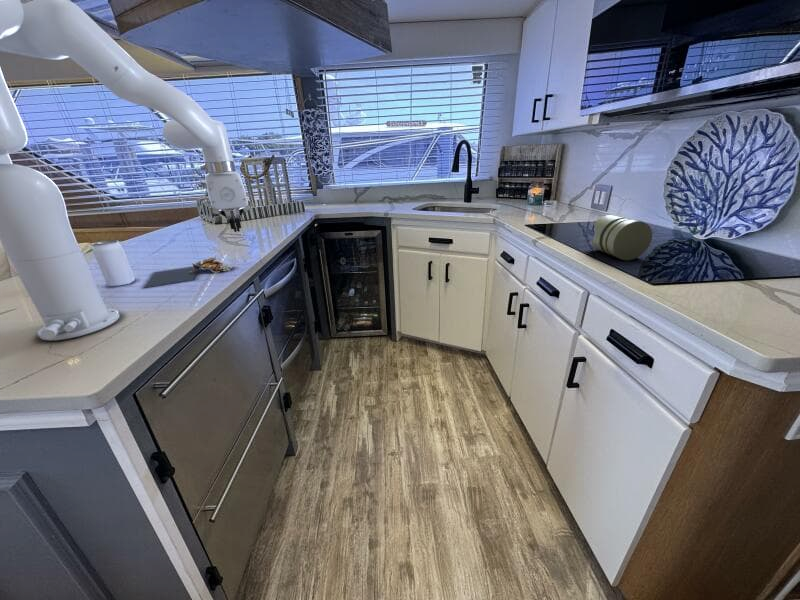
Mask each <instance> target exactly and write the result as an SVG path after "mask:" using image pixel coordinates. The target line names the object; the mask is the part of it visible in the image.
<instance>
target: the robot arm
mask: <svg viewBox="0 0 800 600" xmlns="http://www.w3.org/2000/svg"><path fill="white" fill-rule="evenodd" d="M0 52H4V53H9V54H14V55H15V54H16V55H20V56H25V57H32V58H37V59H45V60H54V61H55V60H64V59H68V58H70V59H71V60H72V61H74V63H76V64H77V65H79V66H80V67H81V68H82V69H83V70H85V72H87V73H88V74H90V75H91V76H92V77H93V78H94V79H95V80H97V82H99V83H100V84H101V85H103V86H104V87H105V88H106V89H107V90H108V91H109V92H111V93H112V94H113V95H115V96H116V97H117V98H119V99H121V100H123V101H126V102H128V103H131V104H134V105H138V106H141V107H145V108H148V109H151V110H154V111H156V112H160V113H161V114H163V115H165V116H167V117H169V118H171V119H168V120H167V121H166V122H165V123H164V124H163V125H162V130H161V132H162V136H163V138H164V140H165V141H166V142H167V143H168V144H169V146H171V147H172V148H175V149H177V150H180V151H196V150H201V153H202V157H203V160H204V164H202V165H199V167H200V170H201V171H204V172H206V173H207V174H205V175H204V176H205V185H206V191H207V195H208V199H209V203H210V206H211V213H212V214H214V215H222V216H223V217H224V218H226V219H227V220H228V222H229V227H230V229H231V230H233V232H234V233H237V232H239V233H240V232H241V230H240V229H242V224H241V219H240V218H241V216H242V215H243V213H245V212H248V211H251V207H250V204H249V200H248V195H247V192H246V188H245V185H244V182H243V179H242V177H241V176H242V175H241V174H240V172H237V169H236V165H235V162H234V157H233V152H232V148H231V144H230V140H229V136H228V132H227V128H226V125H225V124H224V122H222V121H220V120H215V119H212V117H211V116H210V115H209V114H208V113H207V112H206V111H205V109H203V108H202V107H201V106H200V104H198V103H197V102H196V101H195V100H194V99H193V98H192V97H190V96H189V95H188V94H186V93H185V92H184V91H182V90H180V89H179V88H177V87H175V86H174V85H172V84H170V83H168V82H167V81H165V80H163V79H162V78H160V77H158V76H156V75H154V74H153V73H151V72H149V71H147V70H146V69H145V68H144V67H142V66H141V65H140V64H139V63H138V62H137V61H136V60H135V58H134V57H132V56H131V55H130V54H129V53H128V52H127V51H126V50H125V49H124V48H122V47H121V45H120V44H118V43H117V42H116V41H115V39H113V38H112V37H111V36H110V35H109V33H107V32H106V30H104V29H103V28H102V27H101V26H100V25H99V24H98V23H97V22H96V21H95V20H94V19H93V18H92V17H90V16H89V14H87V13H86V12H85V11H84V10H83V9H82V8H81V7H80V6H78V5H77V4H75V2H73V1H71V0H30V1H27V2H25V3H22V2H21V0H0ZM15 103H16V102H15V101H14V99H13V96H12V94H11V92H10V89H9V87H8V84H7V82H6V80H5V77H4V74H3V71H2V68H1V67H0V243H1V245H2V247H3V250H4V251H5V253H6V255H7V257H8V259H9V261H10V262H11V264H12V266H13V268H14V270H15V271H16V273H17V275H18V277H19V279H20V280H21V283H22V284H23V286H24V288H25V290H26V292H27V293H28V295H29V297H30V299H31V301H32V303H33V305H34V306H35V308H36V311H37V312H38V314H39V316H40V318H41V319H42V321H43V323H44V325H43V326H42V327H41V328H39V329H38V330H37V336H38V338H39V339H40V340H43V341H51V342H52V341H61V340H70V339H73V338H78V337H81V336H82V337H83V336H85V335H89V334H93V333H94V332H98V331H100V330H102V329H104V328H105V329H106V328H107V327H109V326H111V325H113V324H115V323H116V322H117V321H118V320H119V319H120V316H121V315H120V312H119V311H118V310H117V309H114V308H107V306H106V304H105V302H104V299H103V297H102V295H101V293H100V291H99V288H98V286H97V284H96V281H95V279H94V277H93V274H92V272H91V270H90V267H89V265H88V263H87V261H86V259H85V257H84V254H83V252H82V250H81V248H80V246H79V243H78V241H77V238H76V236H75V234H74V230H73V229H72V226H71V222H70V220H69V216H68V211H67V206H66V202H65V198H64V197H63V194H62V192H61V190H60V188H59V187H58V185H57V184H56V183H55V182H54V181H53V180H52V179H51V178H49V177H48V176H47V175H45V174H44V173H42V172H41V171H39V170H37V169H34V168H32V167H29V166H26V165H21V164H17V163H13V162H12V159H11V157H10V155H11V154H16V153H18V152H20V151H21V150H22V151H23V149H25V148H26V146H27V143H28V138H29V137H28V133H27V130H26V129H27V128H26V127H25V125H24V121H23V120H22V117H21V115H20V112H19V111H18V108H17V106H16V104H15ZM230 210H234V216H233V215H232V214H231V212H230Z"/></svg>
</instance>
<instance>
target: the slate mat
mask: <svg viewBox="0 0 800 600" xmlns="http://www.w3.org/2000/svg"><path fill="white" fill-rule="evenodd" d="M190 271H196V270H195V268H194V266H189V267H181V268H176V269H169V270H162V271H155V272H154V273H153V274H152V276H151V278H149V280H148V282H147V283H146V284H145V286H144V287H143V288H144V289H148V288H154V287H159V286H166V285H171V284H173V285H174V284H177V283H178V284H179V283H184V282H190V281H195V278H196V275H197V273H196V274H195V273H190Z"/></svg>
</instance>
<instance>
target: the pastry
mask: <svg viewBox="0 0 800 600" xmlns="http://www.w3.org/2000/svg"><path fill="white" fill-rule="evenodd" d="M217 259H218V258H217V257H216V256H215V257H209V258H204V259H199V261H197V262H196V263H194V262H193V263H191V264H192V267H194V268H195V270H196V271H190V273H195V274H196V275H197V273H199V272H198V270H199V269H201V270H203V271H206V270H210V271H211V272H212V273H215V274H216V273H217V274H218V273H220V272H226V271H230V270H232V269H234V266H232V265H229V264H227V263H224V262H221V261H217Z"/></svg>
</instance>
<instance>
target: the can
mask: <svg viewBox="0 0 800 600" xmlns="http://www.w3.org/2000/svg"><path fill="white" fill-rule="evenodd" d="M91 246H92V249H91V251H92V254H93V256H94V258H95V261H96V263H97V265H98V268H99V270H100V273H101V275H102V277H103V280H104V282H105V284H106V286H107V287H110V288H115V287H122V286H123V287H124V286H127V285H131V284H132V283H134V282H135V280H136V277H135V276H134V273H133V270H132V268H131V267H132V266H131V265H130V262H129V261H128V257H127V255H126V252H125V249H124V248H123V245H121V243H120V242H119V240H118V239H117V240H116V239H112V240H104V241H98V242H94V243H91Z"/></svg>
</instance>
